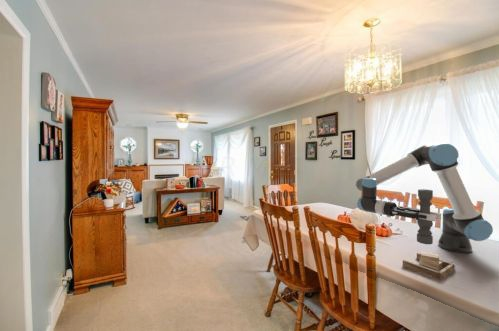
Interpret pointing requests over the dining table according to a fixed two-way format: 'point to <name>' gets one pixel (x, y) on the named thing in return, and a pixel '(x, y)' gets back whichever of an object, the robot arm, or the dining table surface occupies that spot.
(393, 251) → the dining table surface
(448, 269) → the walnut caddy
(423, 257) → the offcut upper
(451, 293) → the dining table surface
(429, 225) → the candle holder
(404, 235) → the dining table surface
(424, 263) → the offcut lower
